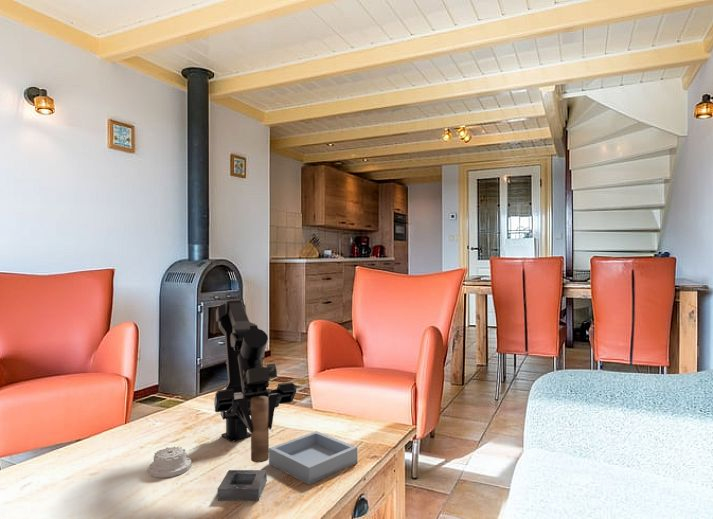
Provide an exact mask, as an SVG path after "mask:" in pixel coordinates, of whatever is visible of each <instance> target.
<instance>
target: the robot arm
mask: <svg viewBox="0 0 713 519" xmlns="http://www.w3.org/2000/svg"><path fill="white" fill-rule="evenodd" d="M215 321H216V322H218V329H219V330H220V332H221V333H222V334H223V335H224V343H225V345H224V346H225V357H226V360H225V361H226V371H227V372H226V373H227V385H226V388H225V389H220V390H219V389H218V390H217V391H216V392H215V395H214V396H215V397H214V400H213V401H214V412H215V413H220V416H221V419H222V420H225V432H224V433H222V434H220V435H221V437H222V438H224V439H227V440H228V441H230V442H235V441H239V440H242V439H246V438H248V437H251V433H252V431H253V429H252V422H251V398H252V397H256V396H266V397H268V418H269V430H272V428H273V421H274V414H275V409H276V408H278V407H279V406H280V405H283V404H290V403H292V402H293V401H294V399H295V396H296V393H297V388H296V384H295V383H293V382H292V381H289V382H281V383H280V382H279V383H278V384H277V387H276V389H270V390H268V388H269V386H270V383H269V382H270V380H271V379H276V378H277V376H278V372H277V367H276V363H269V364H267V365H266V366H263V360H262V358H263V357H264V356H265V355H264V354H265V351H266V347H267V343H268V339H269V336H268V334H267V333H266V332H265V331H264V330H263V329H261V328H259V326H258V325H257V324H256V323H253V322H250V320H249V316H248V315H247V309H246V304H245V303H244V300H243V299H228V300H225V302H224V303H222V304H220V305H219V306H217V307H216V310H215ZM248 431H249V432H248Z"/></svg>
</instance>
